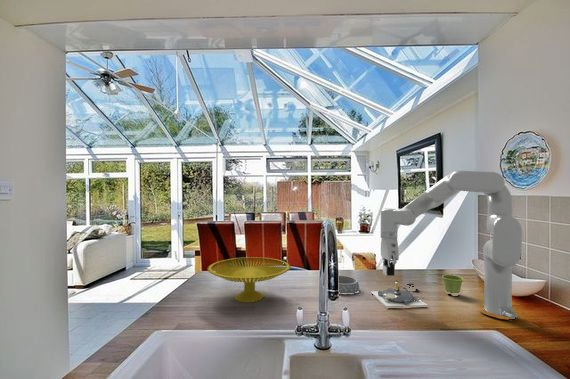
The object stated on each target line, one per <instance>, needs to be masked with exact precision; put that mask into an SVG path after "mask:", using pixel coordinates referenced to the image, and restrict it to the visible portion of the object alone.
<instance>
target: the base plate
mask: <svg viewBox="0 0 570 379" xmlns="http://www.w3.org/2000/svg"><path fill="white" fill-rule="evenodd" d="M378 291H379V290H377V291H375V290H374V291H370V294H371V293H372V294H373V295H375V297H376V298H377V299H378V300H379V301H380V302H381V303H382V304H383V305H384V306H385V307H403V306H424V305H428V304H427V303H426V302H424V301H423V300H421V299H420V300H419V301H417V302H416V301H414V300H413V301H412V302H409V304H403V303H398V302H392V301H388V302H387V301H384V298H383V297H382V296H381V295H378ZM377 299H376V300H377ZM378 300H377V301H378ZM379 301H378V302H379ZM422 301H423V302H422ZM380 302H379V303H380ZM381 303H380V304H381ZM382 304H381V305H382ZM383 305H382V306H383ZM384 306H383V307H384ZM385 307H384V308H385Z"/></svg>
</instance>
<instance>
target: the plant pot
mask: <svg viewBox="0 0 570 379" xmlns="http://www.w3.org/2000/svg"><path fill="white" fill-rule="evenodd" d="M441 278H442V280H443V284H444V291H445V290H446V291H447V292H450V293H459V292H460V293H461V289H462V283H463V281H464V278H463V277H461V276H458V275H453V274H443V275H442V276H441Z"/></svg>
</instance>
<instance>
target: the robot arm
mask: <svg viewBox="0 0 570 379" xmlns="http://www.w3.org/2000/svg"><path fill="white" fill-rule="evenodd" d="M505 183H506V182H505V178H504V176H502V175H501V174H500V173H498V172H495V171H476V170H475V171H472V170H455V171H452V172H450V173H448V174H447V175H445V176H444V177H442V178H441V179H440V180H438V182H436V183H435V184H433V185H432V186H430V188H427V189H426V190H425V191H423V193H421V194H419V196H417V197H416V198H415V199H413V200H412V201H411V202H409V203H408V204H406V205H404V207H402V208H401V209H396V208H382V209H381V210H380V240H381V242H380V257H381V258H382V266H383V265H388V267H387V275H388V276H389V277H390V276H391V277H392V276H393V277H395V276H394V268H395V269H396V264H397V261H399V259H400V257H399V256H400V255H399V254H400V252H399V242H398V225H400V226H412V225H414V224H415V222H416V219H417V218H418V217H420V216H421V215H423V214H424V213H426V212H427V211H430V210H432V209H434V208H437V207H439V206H441V205H442V204H444V203H445V202H446V201H448V200H449V199H451V198H452V197H453V196H455V195H456V194H458V193H459V192H468V193H469V192H471V193H482V194H484V196H485V197H486V200H487V217H486V228H487V231H488V232H489V233H490V234H492V238H491V239H489V240H487V241H486V242H484V245H483V247H482V256H483V258H482V259H483V266H484V267H483V268H484V269H483V272H484V275H483V277H484V278H483V281H484V282H483V290H484V291H483V296H484V297H483V306H484V309H485V310H486V311H487V312H489V313H492V314H495V315H499V316H505V317H509V318H511V319H515V317H516V318H518V316H519V314H518V313H516V312H514V307H512V305H513V303H512V302H513V301H512V300H513V299H512V298H513V296H512V295H513V294H512V293H513V286H512V285H513V284H512V283H513V272H512V271H513V269H512V267H514V266H516V265H517V264H518V263H519V262H520V260H521V257H522V244H523V242H522V241H523V229H522V224H521V223H520V221H519V220H518V219H517V218H515V217H514V216H513V198H512V195H511V192H510V190H509V189H508V187H507V186H506V185H505ZM388 276H387V277H388ZM515 320H516V319H515Z"/></svg>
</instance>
